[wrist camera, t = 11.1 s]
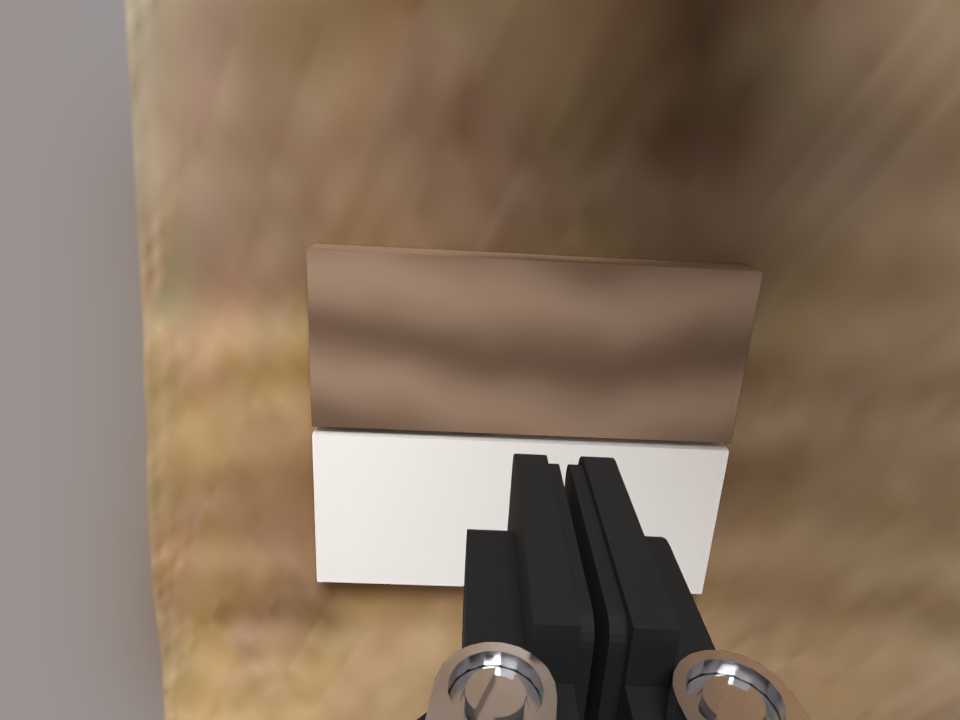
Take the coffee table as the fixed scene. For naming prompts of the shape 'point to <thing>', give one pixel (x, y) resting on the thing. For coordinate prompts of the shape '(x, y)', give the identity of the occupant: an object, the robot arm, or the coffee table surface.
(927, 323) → the coffee table surface
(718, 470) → the off-white plank
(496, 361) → the walnut plank
